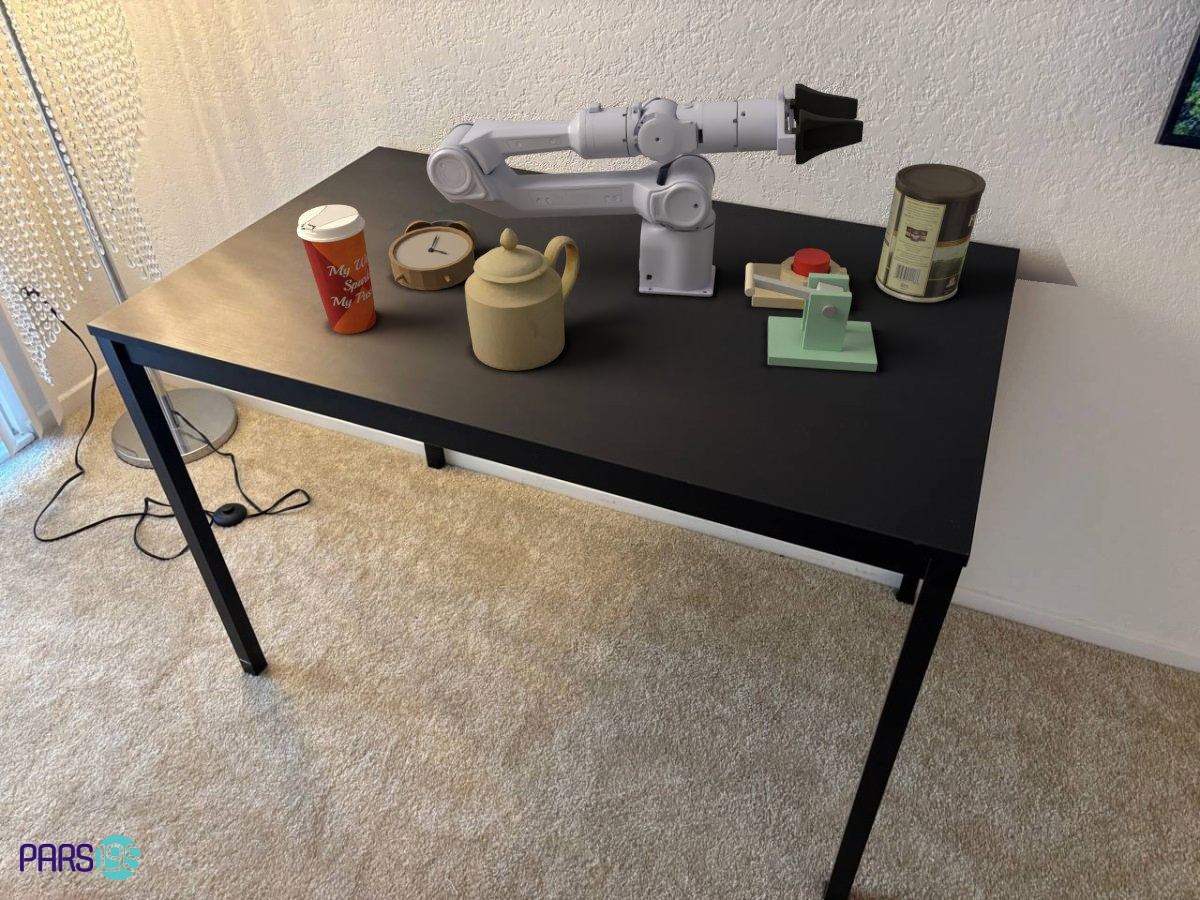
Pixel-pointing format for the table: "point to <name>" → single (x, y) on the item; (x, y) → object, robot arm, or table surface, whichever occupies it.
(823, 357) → the bracket
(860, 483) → the table surface
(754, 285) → the lever
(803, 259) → the red button
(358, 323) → the paper cup
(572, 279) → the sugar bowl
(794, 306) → the button housing
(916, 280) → the coffee can
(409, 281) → the alarm clock
